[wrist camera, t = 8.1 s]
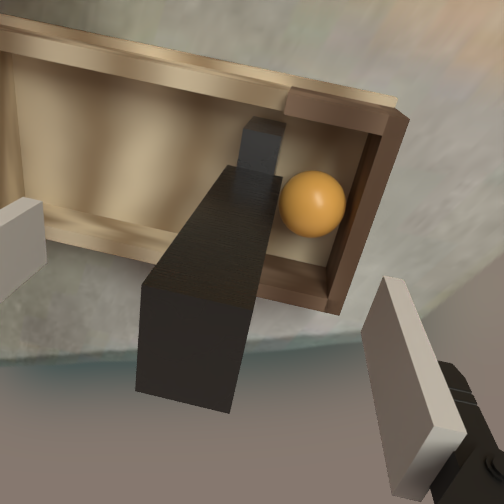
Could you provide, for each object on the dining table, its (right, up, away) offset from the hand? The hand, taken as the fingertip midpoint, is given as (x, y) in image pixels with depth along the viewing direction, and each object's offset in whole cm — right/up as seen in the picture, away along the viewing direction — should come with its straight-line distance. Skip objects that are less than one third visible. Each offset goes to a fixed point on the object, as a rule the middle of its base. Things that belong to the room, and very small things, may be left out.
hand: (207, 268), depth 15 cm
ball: (+5, +3, +9) cm, 11 cm away
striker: (+2, +5, +10) cm, 11 cm away
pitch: (-3, +7, +11) cm, 14 cm away
